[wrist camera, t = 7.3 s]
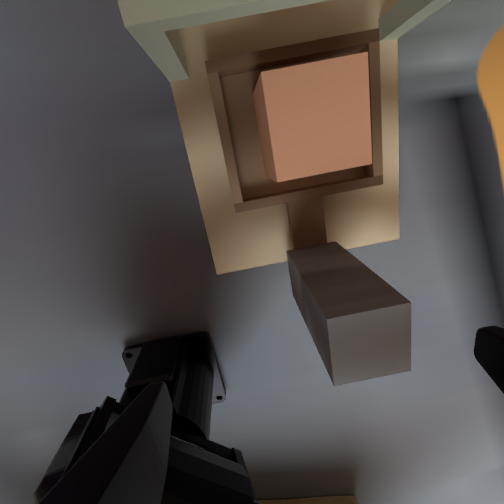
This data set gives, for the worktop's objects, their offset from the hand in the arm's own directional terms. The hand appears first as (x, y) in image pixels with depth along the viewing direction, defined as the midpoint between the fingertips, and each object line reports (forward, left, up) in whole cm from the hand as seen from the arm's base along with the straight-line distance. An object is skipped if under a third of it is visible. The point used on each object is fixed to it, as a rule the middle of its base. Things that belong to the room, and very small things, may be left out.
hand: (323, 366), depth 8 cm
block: (+7, -2, -9) cm, 12 cm away
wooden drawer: (+4, -2, -10) cm, 11 cm away
